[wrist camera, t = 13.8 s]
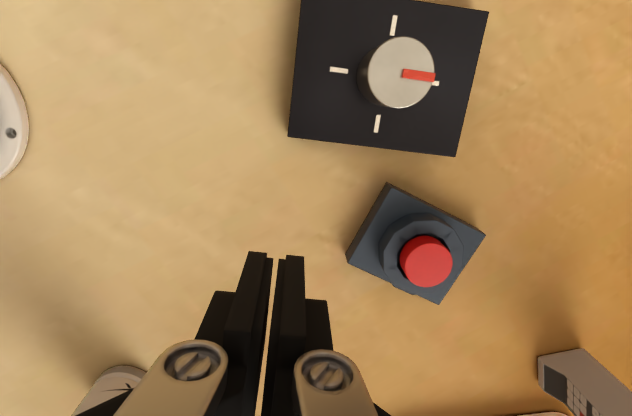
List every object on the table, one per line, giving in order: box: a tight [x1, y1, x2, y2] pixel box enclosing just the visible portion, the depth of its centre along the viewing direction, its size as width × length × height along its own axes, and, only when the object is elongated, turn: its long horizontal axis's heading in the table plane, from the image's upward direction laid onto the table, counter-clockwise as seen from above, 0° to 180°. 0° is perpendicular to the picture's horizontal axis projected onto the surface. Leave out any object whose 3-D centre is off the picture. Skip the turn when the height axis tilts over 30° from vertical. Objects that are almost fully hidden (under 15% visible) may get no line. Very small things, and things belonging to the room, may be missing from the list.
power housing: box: [345, 182, 486, 305], centre depth 34 cm, size 10×8×4 cm
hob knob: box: [357, 36, 436, 108], centre depth 26 cm, size 4×4×5 cm
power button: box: [399, 236, 453, 287], centre depth 32 cm, size 4×4×2 cm
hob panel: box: [288, 0, 489, 157], centre depth 30 cm, size 14×11×3 cm
